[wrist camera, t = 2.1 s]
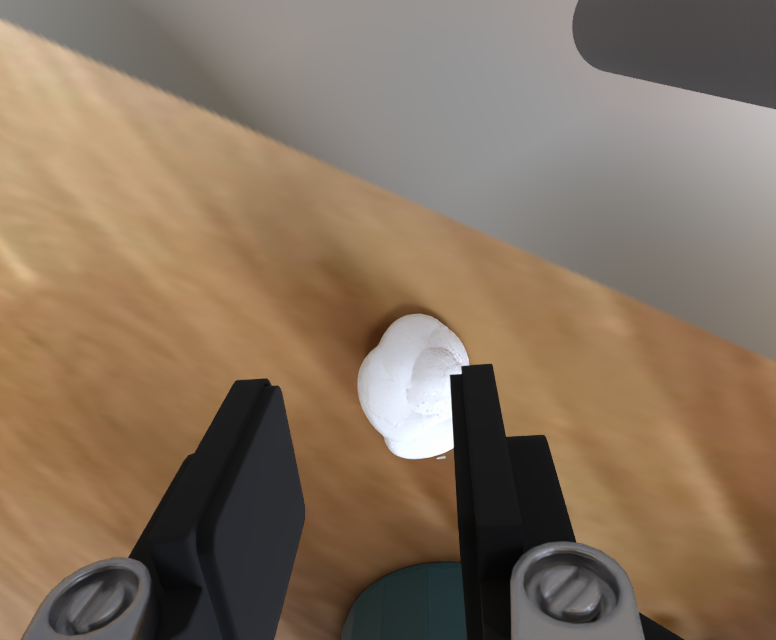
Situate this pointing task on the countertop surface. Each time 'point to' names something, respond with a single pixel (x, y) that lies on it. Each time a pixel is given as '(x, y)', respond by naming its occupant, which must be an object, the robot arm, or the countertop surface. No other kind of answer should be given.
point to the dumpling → (412, 386)
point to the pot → (411, 606)
